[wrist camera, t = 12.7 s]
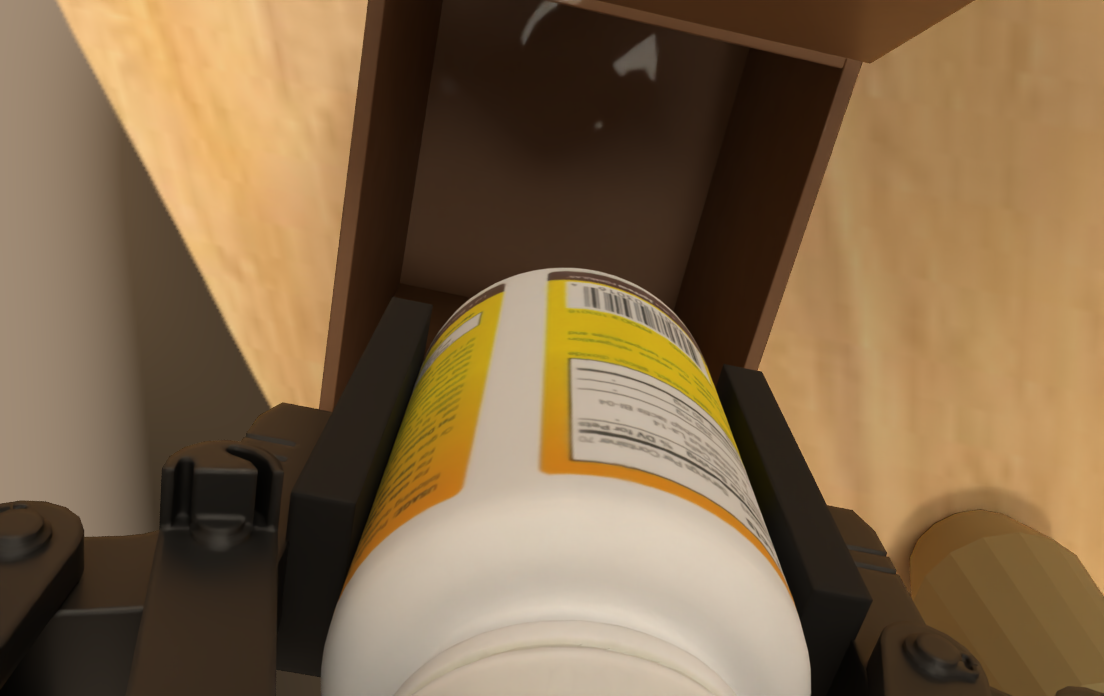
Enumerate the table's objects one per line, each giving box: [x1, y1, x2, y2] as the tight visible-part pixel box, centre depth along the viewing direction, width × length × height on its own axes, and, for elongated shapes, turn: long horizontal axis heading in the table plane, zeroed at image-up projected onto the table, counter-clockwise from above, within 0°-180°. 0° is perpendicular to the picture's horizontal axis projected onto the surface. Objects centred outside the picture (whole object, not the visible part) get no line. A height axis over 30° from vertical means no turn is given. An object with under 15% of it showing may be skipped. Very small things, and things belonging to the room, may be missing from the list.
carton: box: [319, 0, 862, 412], centre depth 28 cm, size 15×13×19 cm
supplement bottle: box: [321, 268, 811, 696], centre depth 12 cm, size 6×6×10 cm
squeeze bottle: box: [910, 510, 1104, 696], centre depth 36 cm, size 8×8×18 cm
